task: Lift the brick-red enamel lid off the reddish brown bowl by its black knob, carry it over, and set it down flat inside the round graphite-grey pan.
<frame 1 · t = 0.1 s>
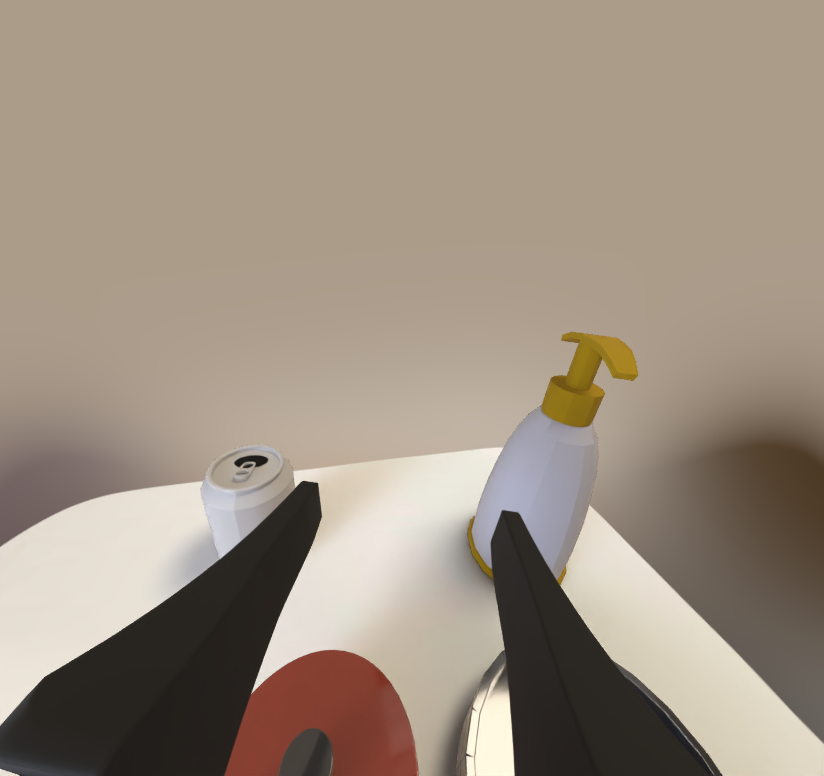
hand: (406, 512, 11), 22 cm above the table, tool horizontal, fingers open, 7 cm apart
can: (263, 551, 31), on the table
soap bottle: (513, 550, 35), on the table
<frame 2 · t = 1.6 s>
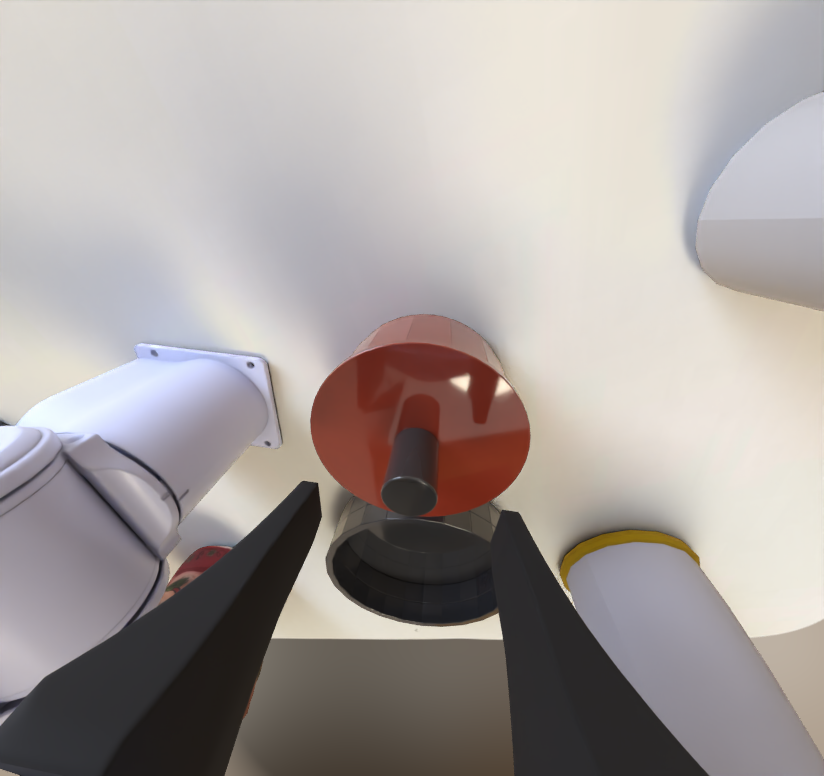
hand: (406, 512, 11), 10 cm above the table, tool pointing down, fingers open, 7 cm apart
lid: (417, 439, 15), point 5 cm above the table, touching reddish brown bowl
can: (773, 203, 13), on the table
soap bottle: (619, 561, 27), on the table
reddish brown bowl: (424, 389, 20), on the table
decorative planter: (247, 571, 36), on the table
pan: (422, 537, 28), on the table
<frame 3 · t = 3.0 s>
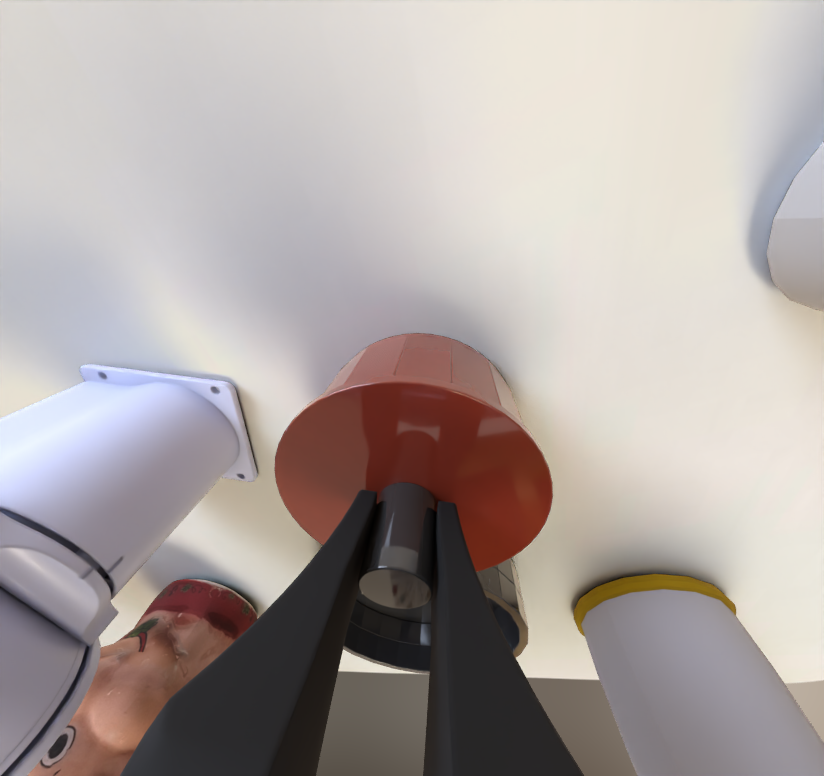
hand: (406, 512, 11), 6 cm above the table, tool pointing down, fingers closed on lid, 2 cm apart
lid: (408, 492, 12), point 5 cm above the table, touching gripper, reddish brown bowl
soap bottle: (640, 604, 24), on the table
reddish brown bowl: (420, 418, 17), on the table
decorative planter: (228, 603, 33), on the table
pan: (419, 574, 25), on the table
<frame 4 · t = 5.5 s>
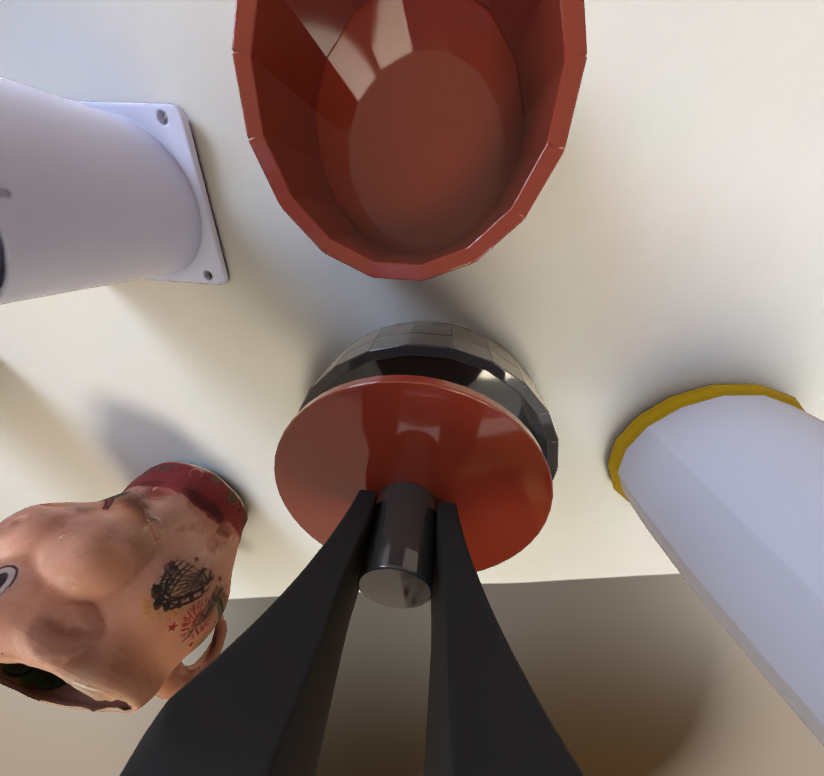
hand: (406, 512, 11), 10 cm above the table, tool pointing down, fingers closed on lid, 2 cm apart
lid: (408, 492, 12), point 9 cm above the table, touching gripper
soap bottle: (688, 447, 20), on the table
reddish brown bowl: (417, 143, 14), on the table
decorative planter: (215, 503, 29), on the table
pan: (424, 427, 22), on the table
when the fingers open (2 cm above the table, at t = 7.9 s): lid stays where it is, resting on pan.
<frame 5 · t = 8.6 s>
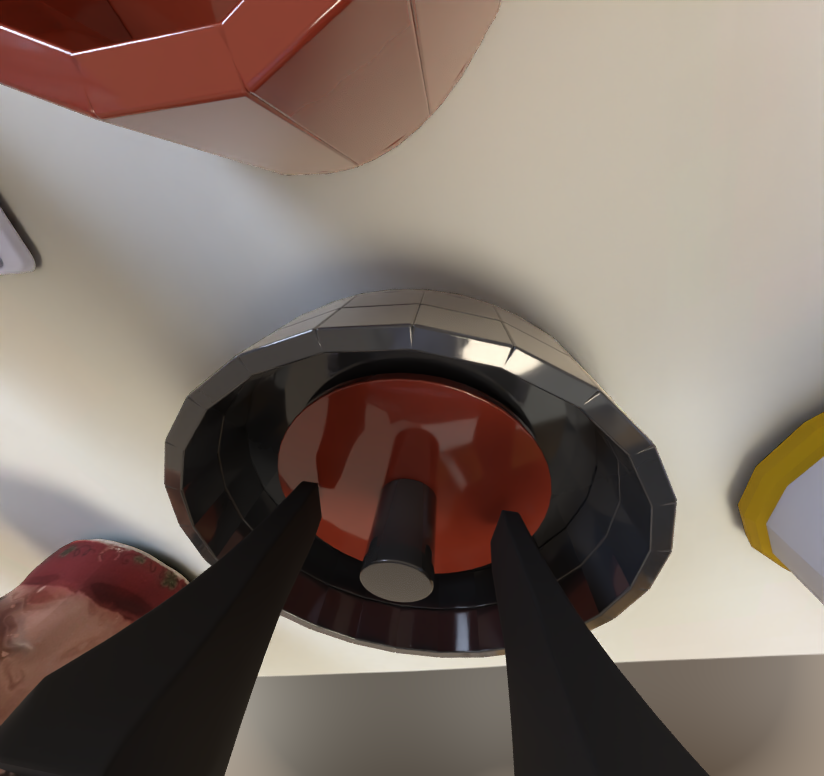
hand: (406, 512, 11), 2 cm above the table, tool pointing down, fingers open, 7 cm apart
lid: (409, 488, 12), point 1 cm above the table, touching pan
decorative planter: (162, 581, 22), on the table
pan: (412, 470, 13), on the table
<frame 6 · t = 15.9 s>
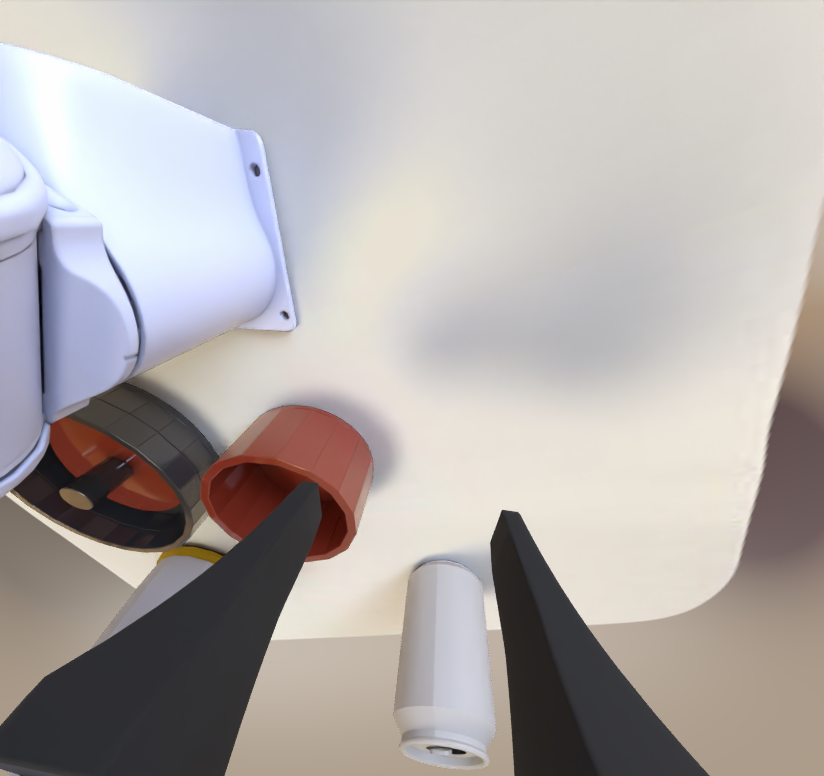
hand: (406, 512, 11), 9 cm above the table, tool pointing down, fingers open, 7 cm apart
lid: (124, 463, 25), point 1 cm above the table, touching pan
can: (444, 574, 30), on the table
soap bottle: (210, 568, 35), on the table
reddish brown bowl: (311, 458, 24), on the table
pan: (136, 454, 26), on the table
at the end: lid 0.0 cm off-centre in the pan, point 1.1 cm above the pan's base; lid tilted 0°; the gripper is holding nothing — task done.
